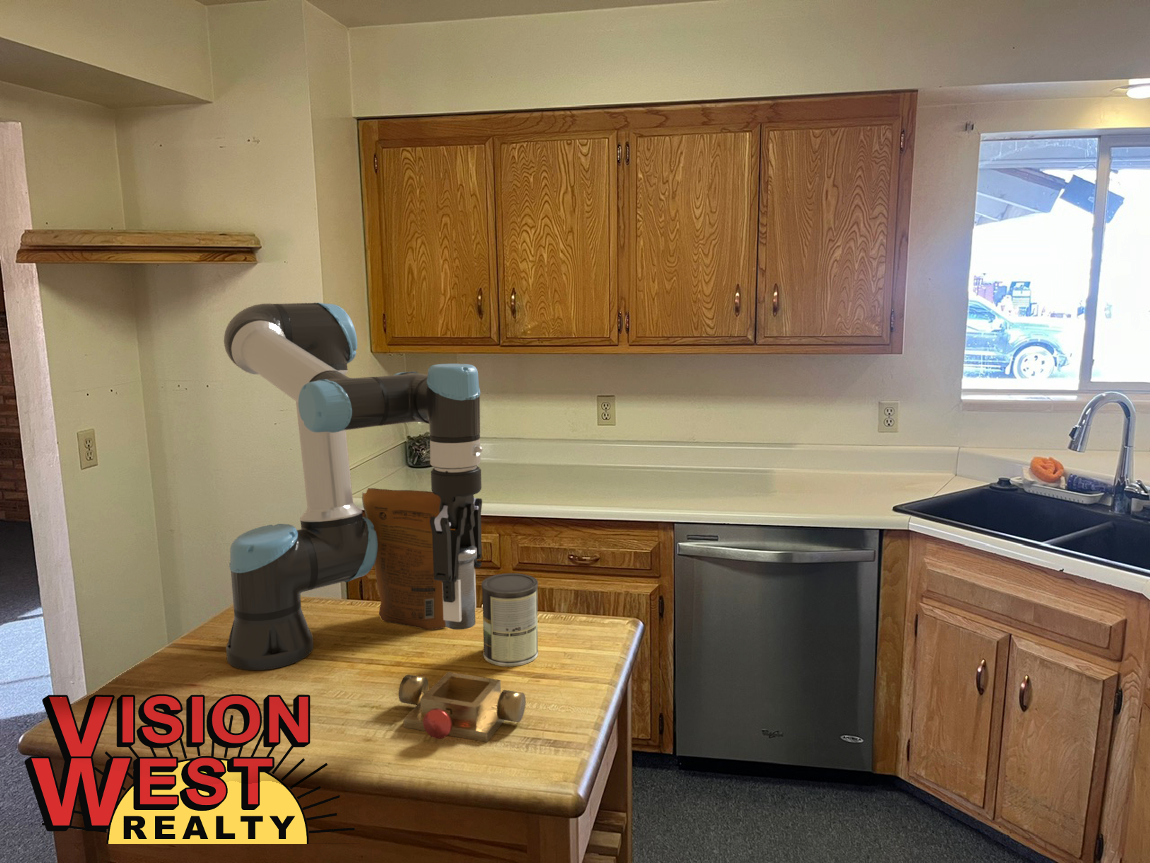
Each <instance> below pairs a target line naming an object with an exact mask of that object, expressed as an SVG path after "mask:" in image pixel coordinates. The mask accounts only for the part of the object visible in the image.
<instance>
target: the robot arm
mask: <svg viewBox="0 0 1150 863" xmlns="http://www.w3.org/2000/svg"><path fill="white" fill-rule="evenodd" d="M357 338H358V336H357V333H356V329H355V325H354V323H353V321H352V318H351V317H350V315H349V314H348V313H347V312H346V310H345V309H344V308H342V307H341V306H339V305H337V304H335V303H324V302H323V303H322V302H305V303H304V302H302V303H301V302H299V303H298V302H297V303H294V302H293V303H260V304H254V305H251V306H248V307H246V308H244V309H241V310H240V311H239V312H238V313H236V314H235V315H234V316H233V317H232V318H231V319H230V321H229V322H228V324H227V326H226V328H225V330H224V335H223V344H224V345H223V346H224V349H225V352H226V354H227V357H228V358H229V360H231V361H232V363H233V364H234V365H236V366H237V367H238V368H239V369H241V370H242V371H244V372H245V373H248V374H250V375H259V376H260V377H262V378H263V379H264V380H266V381H267V382H269V383H270V384H272V385H273V386H274V387H275V388H277V389H279V390H280V391H281V392H283V393H284V394H285V395H287V396H288V397H290V398H291V399H292V400H294V401H295V406H296V415H297V424H298V426H297V427H298V432H299V435H298V436H299V442H300V452H301V462H302V471H303V480H304V488H305V489H304V490H305V498H306V507H307V508H306V510H305V512H303V514H302V515H301V517H300V519H299V520H300V529H297V528H296V527H295V526H294V525H293V524H288V523H277V524H274V525H273V524H268V525H263V526H260V527H257V528H252V529H250V530H248V531H245V532H243V533H241V534H240V535H239V536H237V537H236V538H235V539H234V540H233V541H232V543H231V545H230V550H229V552H230V554H229V555H230V559H229V561H230V562H229V566H228V567H229V570H230V576H231V578H230V579H231V589H232V602H233V615H234V616H233V622H232V626H231V630H230V633H229V636H228V637H229V638H228V640H227V643H226V648H225V649H226V650H225V651H226V660H227V663H228V665H230V666H232V667H234V668H237V669H238V670H239V669H240V670H245V671H264V670H265V671H266V670H272V669H278V668H283V667H286V666H290V665H293V664H295V663H298V662H300V661H301V660H303V659H304V658H306V657H307V656H309V655H310V654H311V653H312V652H313V649H314V638H313V633H312V631H311V630H310V629H309V626H308V623H307V620H306V616H304V612H303V610H302V600H301V594H302V593H304V592H308V591H312V590H317V589H321V588H324V587H327V586H331V585H337V584H339V583H348V582H350V581H353V580H355V579H358V578H362V577H364V576H366V575H368V574H369V573H370V571H371V570H372V569H373V567H375V566H374V563H375V561H376V557H377V550H378V541H377V534H376V531H375V530H374V525H373V524H372V522H371V521H370V520H369V519H368V518H366V516H364V515H363V510H362V508H360V507H358V506H357V505H356V504H355V503H354V499H353V489H352V480H351V478H352V477H351V470H350V469H351V468H350V459H349V449H348V440H347V439H348V438H347V431H351V430H356V429H365V428H371V427H381V426H390V425H398V424H406V423H409V424H410V423H424V424H429V451H430V452H429V458H430V459H429V462H430V464H429V465H431V466H432V467H433V468H432V469H431V470H430V479H431V480H430V482H431V492H433V493H434V494H435V495H438V496H439V497H440V499H441V500H440V507H439V513H440V514H439V515H438V516H437V517H431V518H430V526H431V530H432V543H433V569H434V580H439V581H442V590H443V620H447V621H455V622H460V621H461V620H462V613H461V579H457V578H458V564H459V563H458V555H459V551H460V545H465V546H475V547H476V548H477V558H476V559H474V588H475V609H477V593H476V592H477V590H476V589H477V588H476V586H477V585H476V582H477V581H476V568H481V567H482V565H483V564H482V561H480V560H481V559H482V555H483V554H482V551H483V549H482V546H483V545H482V508H483V499H482V498H478V497H474V495H476V494H478V493H480V492H481V491H482V469H481V468H480V466H479V465H480V464H481V459H482V458H481V453H482V452H483V450H484V449H483V447H482V446H481V397H480V396H481V389H480V384H479V382H480V381H479V372H478V369H477V367H476V366H475V365H473V364H468V363H439V364H433V365H431V366H430V367H428V369H427V374H425V373H419V372H417V371H405V372H397V373H394V374H393V375H384V376H383V375H382V376H368V377H367V376H366V377H349V376H347V373H349V372H348V371H349V370H348V364H349V363H351V362H352V361H354V359H355V358H356V355H357V350H358V339H357ZM478 560H479V561H478Z"/></svg>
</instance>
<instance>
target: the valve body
mask: <svg viewBox="0 0 1150 863" xmlns="http://www.w3.org/2000/svg"><path fill="white" fill-rule="evenodd" d="M501 681H502V680H501V679H498V678H497V679H496V678H489V677H484V676H476V675H471V674H463V673H458V672H457V673H456V672H450V671H447V672H446V673H445V674H444V675H443V676H442V677H441V678H440V679H439V680H438V681H437V682H436V683H435V684H434V685H433V686H432V687H431V688H430V687H429V680H428V678H427V677H426V676H419V675H415V674H414V675H413V674H405V676H403V678H402V679H401V681H400V685H399V688H398V698H399V702H400V703H402V704H408V705H414V706H415V707H414V708H413V709H411V711H410V712H408V713H407V715H405V716H404V718H403V727H404V728H405V729H406V728H407V729H411V730H417V731H423V732H426V733H427V734H428V735H429V736H430V737H432V738H434V739H438V740H439V739H440V740H441V739H444V738H446V737H447V736H451V737H457V738H461V739H468V740H473V741H474V740H475V741H479V742H485V743H488V742H489V741H490V739H491V738H492V737H493V735H495V733H496V732H497V731H498V729H499V728H500V726H501V725H502V724H503V723H504V722H505V721H506V722H507V721H508V722H514V723H520V722H521V721H522V719H523V717H524V714H525V710H526V700H527V699H526V694H525V693H524V692H521V691H513V690H508V689H504V690H501V689H502V688H501V685H502V684H501ZM429 688H430V689H429Z"/></svg>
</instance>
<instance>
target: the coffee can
mask: <svg viewBox="0 0 1150 863" xmlns="http://www.w3.org/2000/svg"><path fill="white" fill-rule="evenodd" d="M538 586H539V582H538V579H537V578H535V577H534V576H532V575H528V574H524V573H516V572H515V573H514V572H510V573H509V572H508V573H507V572H506V573H501V574H500V573H499V574H494V575H492V576H488V577H486V578H485V579H484V580H482V582H481V590H482V624H483V625H482V629H483V630H482V632H483V655H482V656H483V658H484V659H485V661H486V662H487V663H490V664H491V665H493V666H494V665H495V666H500V667H517V666H518V667H519V666H523V665H527V664H529V663H530V662H533V661H535V660H536V658H538V655H539V649H538V648H539V647H538V641H539V640H538V639H539V638H538V637H539V634H538V633H539V632H538V626H539V625H538V622H539V621H538V616H539V615H538Z"/></svg>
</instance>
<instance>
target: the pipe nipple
mask: <svg viewBox="0 0 1150 863" xmlns="http://www.w3.org/2000/svg"><path fill="white" fill-rule="evenodd" d="M476 558H477V548H476V547H475V546H465V545H460V551H459V555H458V563H459V564H458V578H457V579H461V613H462V620H461V621H460V622H455V621H447V620H446V627H445V628H448V629H451V630H467V629H470V628H472V627H474V626H475V625H476V608H475V588H474V568H475V567H474V559H476Z"/></svg>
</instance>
